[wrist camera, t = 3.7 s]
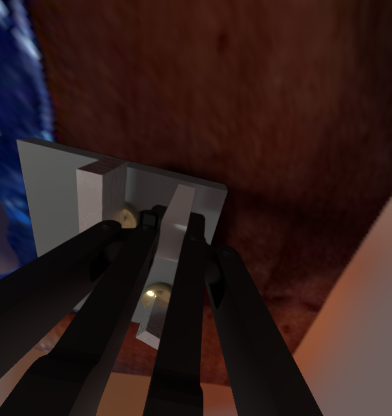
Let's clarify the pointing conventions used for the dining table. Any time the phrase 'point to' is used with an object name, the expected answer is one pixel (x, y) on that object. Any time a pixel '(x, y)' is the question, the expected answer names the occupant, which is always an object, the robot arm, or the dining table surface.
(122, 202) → the knob
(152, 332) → the knob
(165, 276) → the base plate
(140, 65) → the dining table surface
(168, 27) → the dining table surface
